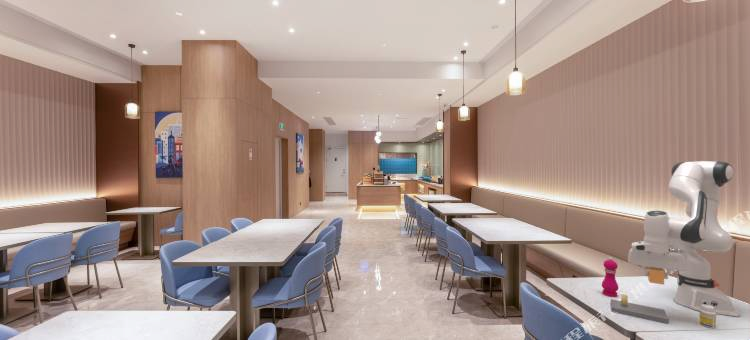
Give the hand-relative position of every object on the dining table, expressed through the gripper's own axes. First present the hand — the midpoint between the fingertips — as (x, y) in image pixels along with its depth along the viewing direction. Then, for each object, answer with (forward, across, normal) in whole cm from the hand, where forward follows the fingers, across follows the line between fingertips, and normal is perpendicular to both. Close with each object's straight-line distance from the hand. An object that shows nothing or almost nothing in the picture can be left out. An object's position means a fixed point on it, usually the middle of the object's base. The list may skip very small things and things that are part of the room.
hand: (655, 277), depth 147 cm
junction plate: (+18, +6, +1) cm, 19 cm away
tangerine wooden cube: (+2, 0, 0) cm, 2 cm away
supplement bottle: (+18, -17, -2) cm, 25 cm away
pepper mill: (+18, +16, -18) cm, 31 cm away
